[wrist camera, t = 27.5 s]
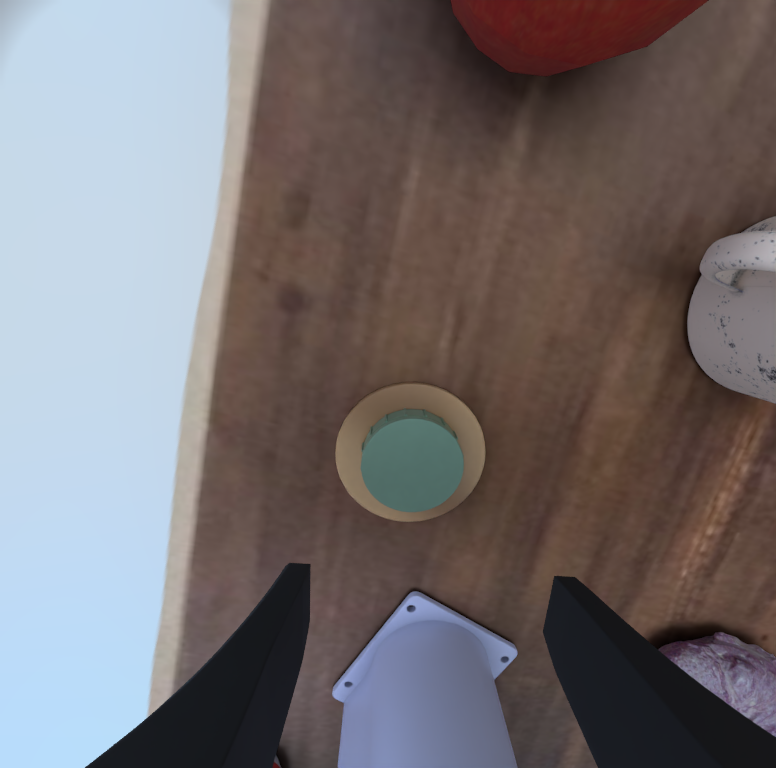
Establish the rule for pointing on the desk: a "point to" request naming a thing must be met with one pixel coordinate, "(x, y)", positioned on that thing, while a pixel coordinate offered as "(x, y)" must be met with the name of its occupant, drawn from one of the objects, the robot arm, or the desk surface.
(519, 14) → the apple
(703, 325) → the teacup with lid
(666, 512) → the desk surface
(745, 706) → the fossil
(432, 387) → the cork coaster
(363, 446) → the lid
